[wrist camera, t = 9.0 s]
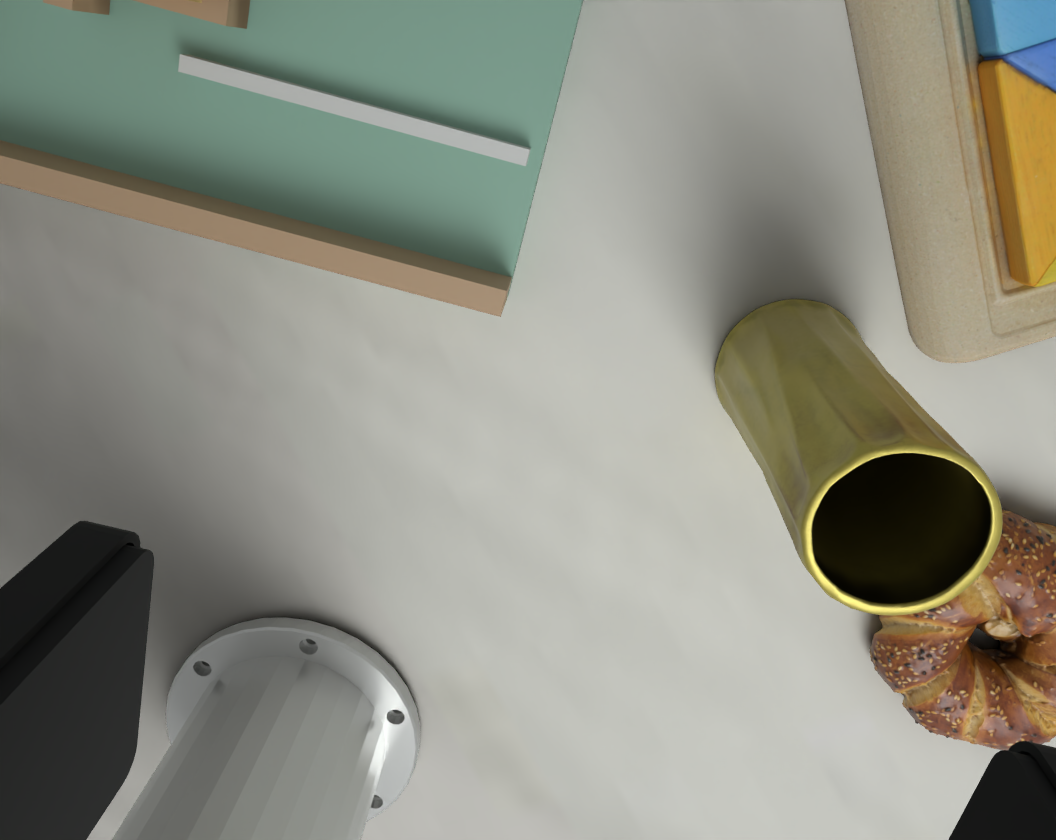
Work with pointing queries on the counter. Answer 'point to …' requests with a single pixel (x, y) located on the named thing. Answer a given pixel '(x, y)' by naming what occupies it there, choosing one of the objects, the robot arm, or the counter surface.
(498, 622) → the counter surface
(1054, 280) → the wooden puzzle
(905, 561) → the vase
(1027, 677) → the sesame bagel
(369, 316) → the counter surface
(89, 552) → the robot arm
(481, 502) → the counter surface
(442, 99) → the pitch
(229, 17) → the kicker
